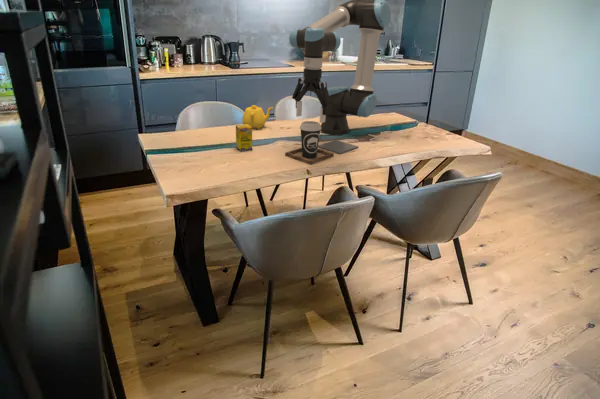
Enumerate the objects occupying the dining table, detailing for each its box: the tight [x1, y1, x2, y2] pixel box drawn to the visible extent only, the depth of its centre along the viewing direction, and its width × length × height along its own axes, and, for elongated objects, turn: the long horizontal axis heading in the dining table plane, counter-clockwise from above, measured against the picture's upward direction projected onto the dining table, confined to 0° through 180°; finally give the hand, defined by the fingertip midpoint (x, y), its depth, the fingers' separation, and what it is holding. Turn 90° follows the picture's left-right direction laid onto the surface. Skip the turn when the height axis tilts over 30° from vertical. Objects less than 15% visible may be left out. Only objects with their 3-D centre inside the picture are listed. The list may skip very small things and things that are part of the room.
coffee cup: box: [299, 120, 322, 160], centre depth 192 cm, size 10×10×15 cm
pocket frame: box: [284, 147, 335, 166], centre depth 195 cm, size 15×15×2 cm
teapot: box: [241, 104, 274, 130], centre depth 232 cm, size 14×14×12 cm
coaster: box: [318, 139, 360, 155], centre depth 207 cm, size 14×14×1 cm
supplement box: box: [235, 124, 253, 152], centre depth 199 cm, size 6×6×11 cm
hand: (310, 119), depth 188 cm, fingers open, 13 cm apart
